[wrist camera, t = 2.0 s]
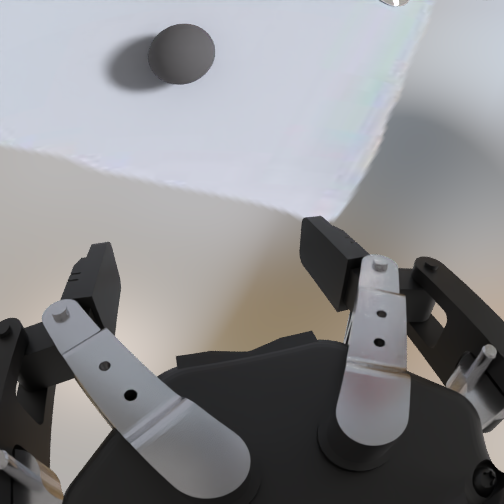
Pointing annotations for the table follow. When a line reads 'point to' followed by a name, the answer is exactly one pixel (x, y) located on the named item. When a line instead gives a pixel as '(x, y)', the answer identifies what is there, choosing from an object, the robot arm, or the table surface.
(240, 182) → the table surface
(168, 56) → the gray ball
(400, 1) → the wineglass
